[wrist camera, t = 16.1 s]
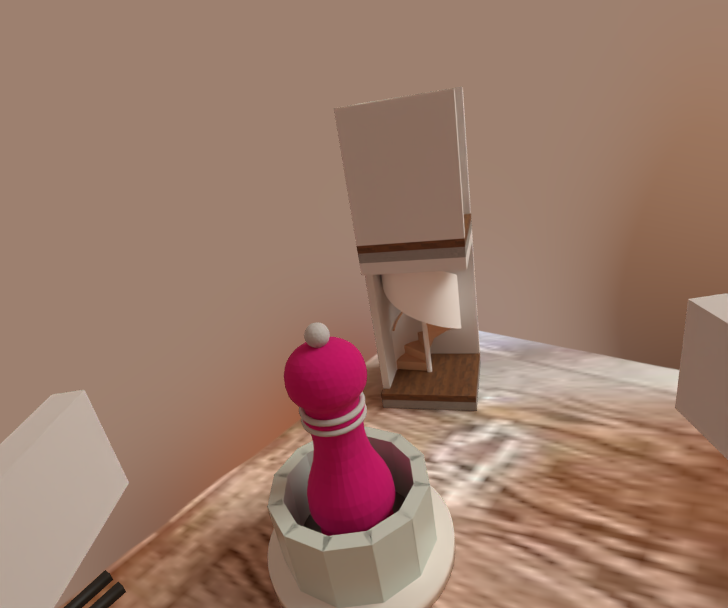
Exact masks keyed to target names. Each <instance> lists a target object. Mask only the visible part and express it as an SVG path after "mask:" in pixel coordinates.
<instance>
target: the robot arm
mask: <svg viewBox="0 0 728 608" xmlns="http://www.w3.org/2000/svg"><path fill="white" fill-rule="evenodd" d="M675 408H676V409H677V410H678V411H679V412H680V413H681V414H682V415H683V416H684V417H685V418H686V419H687V420H688V421H689V422H690V423H691V424H692V425H693V426H694V427H695V428H696V429H697V430H698V431H699V432H700V433H701V434H702V435H703V436H704V437H705V438H706V439H707V440H708V441H709V442H710V443H711V444H712V445H713V446H715V447H716V448H717V449H718V450H719V451H720V452H721V453H722V454H723V455H724V456H725V457H726V458H727V459H728V294H719V295H713V296H707V297H699V298H693V299H688V306H687V314H686V322H685V330H684V339H683V347H682V356H681V363H680V372H679V380H678V388H677V396H676V405H675ZM128 484H129V482H128V480H127V478H126V476H125V473H124V471H123V470H122V467H121V465H120V463H119V461H118V459H117V457H116V455H115V453H114V451H113V449H112V447H111V444H110V442H109V440H108V438H107V436H106V434H105V432H104V430H103V428H102V426H101V424H100V422H99V419H98V417H97V415H96V413H95V411H94V409H93V407H92V405H91V403H90V401H89V399H88V397H87V394H86V392H85V390H80V391H73V392H66V393H60V394H53V395H51V396H50V397H49V398H48V399H47V400H46V401H45V402H44V403H43V404H42V405H41V406H39V407H38V408H37V409H36V410H35V411H34V412H33V413H32V414H31V415H30V416H29V417H28V418H27V419H26V420H25V421H24V422H23V423H22V424H21V425H20V426H19V427H18V428H17V429H16V430H15V431H14V432H13V433H11V435H9V436H8V437H7V438H6V439H5V440H4V441H3V442H2V443H1V444H0V608H54V607H55V605H56V604H57V602H58V600H59V599H60V597H61V595H62V594H63V592H64V590H65V589H66V587H67V585H68V584H69V582H70V580H71V579H72V577H73V575H74V574H75V572H76V570H77V569H78V567H79V565H80V564H81V562H82V560H83V559H84V557H85V555H86V554H87V552H88V550H89V549H90V547H91V545H92V544H93V542H94V540H95V539H96V537H97V535H98V534H99V532H100V530H101V529H102V527H103V525H104V524H105V522H106V520H107V519H108V517H109V515H110V514H111V512H112V510H113V509H114V507H115V505H116V504H117V502H118V500H119V499H120V497H121V495H122V494H123V492H124V490H125V488H126V487H127V485H128Z"/></svg>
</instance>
